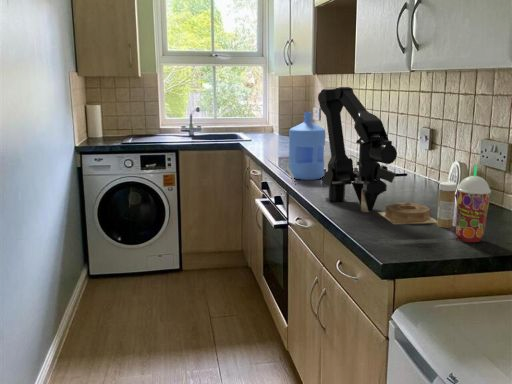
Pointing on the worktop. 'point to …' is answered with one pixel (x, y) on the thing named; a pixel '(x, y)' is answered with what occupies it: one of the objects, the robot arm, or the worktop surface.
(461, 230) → the smoothie
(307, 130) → the water jug
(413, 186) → the worktop surface
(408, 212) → the bead
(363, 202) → the cream banded cylinder
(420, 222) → the board
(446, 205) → the sprinkles bottle
